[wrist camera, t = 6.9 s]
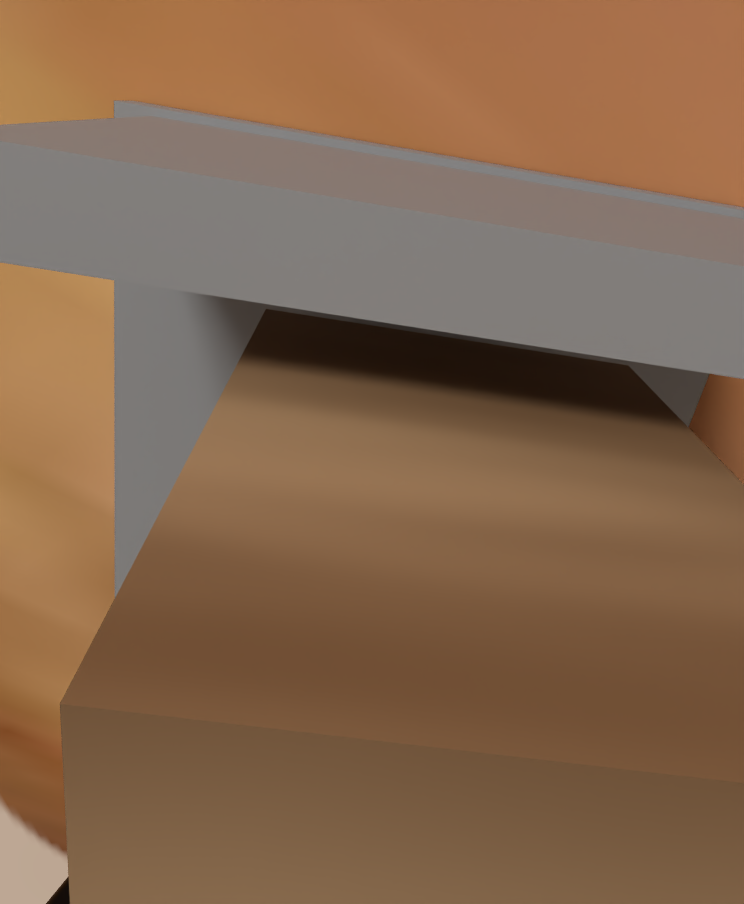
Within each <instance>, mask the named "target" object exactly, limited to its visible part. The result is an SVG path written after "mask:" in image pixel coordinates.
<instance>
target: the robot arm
mask: <svg viewBox="0 0 744 904" xmlns="http://www.w3.org/2000/svg"><path fill="white" fill-rule="evenodd" d="M46 904H70V895H69V876H68V878H67V879H66V880H65V881H64V882H63V884H62V885H61V886H60V887H59V889H58V890H57V891H56V892H55V894H54V895H53V896H52V897H51V898H50V899H49V901H48V902H47V903H46Z"/></svg>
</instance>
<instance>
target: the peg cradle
mask: <svg viewBox="0 0 744 904" xmlns="http://www.w3.org/2000/svg"><path fill="white" fill-rule="evenodd" d="M0 262H1V263H8V264H14V265H20V266H27V267H33V268H40V269H46V270H52V271H59V272H65V273H72V274H78V275H84V276H91V277H97V278H103V279H110V280H114V341H115V597H116V595H117V594H118V592H119V590H120V588H121V586H122V584H123V582H124V580H125V578H126V576H127V574H128V572H129V571H130V569H131V567H132V565H133V563H134V561H135V559H136V557H137V555H138V553H139V551H140V549H141V548H142V546H143V544H144V542H145V540H146V538H147V536H148V534H149V532H150V530H151V528H152V526H153V524H154V523H155V521H156V519H157V517H158V515H159V513H160V511H161V509H162V507H163V505H164V503H165V501H166V500H167V498H168V496H169V494H170V492H171V490H172V488H173V486H174V484H175V482H176V480H177V478H178V477H179V475H180V473H181V471H182V469H183V467H184V465H185V463H186V461H187V459H188V457H189V455H190V454H191V452H192V450H193V448H194V446H195V444H196V442H197V440H198V438H199V436H200V434H201V432H202V431H203V429H204V427H205V425H206V423H207V421H208V419H209V417H210V415H211V413H212V411H213V409H214V407H215V406H216V404H217V402H218V400H219V398H220V396H221V394H222V392H223V390H224V388H225V386H226V384H227V383H228V381H229V379H230V377H231V375H232V373H233V371H234V369H235V367H236V365H237V363H238V361H239V360H240V358H241V356H242V354H243V352H244V350H245V348H246V346H247V344H248V342H249V340H250V338H251V337H252V335H253V333H254V331H255V329H256V327H257V325H258V323H259V321H260V319H261V317H262V315H263V314H264V312H265V310H266V309H270V310H277V311H283V312H290V313H296V314H302V315H309V316H315V317H322V318H328V319H334V320H341V321H347V322H354V323H360V324H366V325H373V326H379V327H386V328H392V329H398V330H405V331H411V332H418V333H424V334H430V335H437V336H443V337H450V338H456V339H462V340H469V341H475V342H482V343H488V344H494V345H501V346H507V347H514V348H520V349H527V350H533V351H539V352H546V353H552V354H559V355H565V356H571V357H578V358H584V359H591V360H597V361H603V362H610V363H616V364H623V365H629V367H630V368H631V369H632V370H633V371H634V372H635V373H636V374H637V375H638V376H639V377H640V378H641V379H642V380H643V381H644V382H645V383H646V384H647V385H648V386H649V387H650V388H651V389H652V390H653V391H654V392H655V393H656V394H657V395H658V397H659V398H660V399H661V400H662V401H663V402H664V403H665V404H666V405H667V406H668V407H669V408H670V409H671V410H672V411H673V412H674V413H675V414H676V415H677V416H678V417H679V418H680V419H681V420H682V421H683V422H684V423H685V424H686V425H687V427H689V425H690V422H691V419H692V417H693V414H694V412H695V409H696V407H697V404H698V402H699V399H700V397H701V394H702V391H703V389H704V386H705V384H706V381H707V379H708V376H709V374H715V375H722V376H728V377H734V378H741V379H744V207H738V206H733V205H727V204H721V203H715V202H710V201H704V200H698V199H692V198H687V197H681V196H675V195H670V194H664V193H658V192H652V191H647V190H641V189H635V188H629V187H624V186H618V185H612V184H607V183H601V182H595V181H589V180H584V179H578V178H572V177H566V176H561V175H555V174H549V173H544V172H538V171H532V170H526V169H521V168H515V167H509V166H503V165H498V164H492V163H486V162H481V161H475V160H469V159H463V158H458V157H452V156H446V155H441V154H435V153H429V152H423V151H418V150H412V149H406V148H400V147H395V146H389V145H383V144H378V143H372V142H366V141H360V140H355V139H349V138H343V137H337V136H332V135H326V134H320V133H315V132H309V131H303V130H297V129H292V128H286V127H280V126H274V125H269V124H263V123H257V122H252V121H246V120H240V119H234V118H229V117H223V116H217V115H211V114H206V113H200V112H194V111H189V110H183V109H177V108H171V107H166V106H160V105H154V104H148V103H143V102H137V101H114V118H108V119H91V120H74V121H57V122H40V123H24V124H7V125H0Z"/></svg>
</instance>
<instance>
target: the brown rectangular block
mask: <svg viewBox="0 0 744 904" xmlns="http://www.w3.org/2000/svg"><path fill="white" fill-rule="evenodd" d="M60 714H61V735H62V755H63V775H64V795H65V815H66V835H67V855H68V875H69V895H70V904H744V484H743V483H742V482H741V481H740V480H739V479H738V478H737V477H736V476H735V475H734V474H733V473H732V472H731V471H730V470H729V469H728V468H727V467H726V466H725V465H724V464H723V463H722V462H721V461H720V460H719V459H718V458H717V457H716V456H715V454H714V453H713V452H712V451H711V450H710V449H709V448H708V447H707V446H706V445H705V444H704V443H703V442H702V441H701V440H700V439H699V438H698V437H697V436H696V435H695V434H694V433H693V432H692V431H691V430H690V429H689V428H688V427H687V425H686V424H685V423H684V422H683V421H682V420H681V419H680V418H679V417H678V416H677V415H676V414H675V413H674V412H673V411H672V410H671V409H670V408H669V407H668V406H667V405H666V404H665V403H664V402H663V401H662V400H661V399H660V398H659V397H658V395H657V394H656V393H655V392H654V391H653V390H652V389H651V388H650V387H649V386H648V385H647V384H646V383H645V382H644V381H643V380H642V379H641V378H640V377H639V376H638V375H637V374H636V373H635V372H634V371H633V370H632V369H631V368H630V367H629V365H623V364H616V363H610V362H603V361H597V360H591V359H584V358H578V357H571V356H565V355H559V354H552V353H546V352H539V351H533V350H527V349H520V348H514V347H507V346H501V345H494V344H488V343H482V342H475V341H469V340H462V339H456V338H450V337H443V336H437V335H430V334H424V333H418V332H411V331H405V330H398V329H392V328H386V327H379V326H373V325H366V324H360V323H354V322H347V321H341V320H334V319H328V318H322V317H315V316H309V315H302V314H296V313H290V312H283V311H277V310H270V309H266V310H265V312H264V314H263V315H262V317H261V319H260V321H259V323H258V325H257V327H256V329H255V331H254V333H253V335H252V337H251V338H250V340H249V342H248V344H247V346H246V348H245V350H244V352H243V354H242V356H241V358H240V360H239V361H238V363H237V365H236V367H235V369H234V371H233V373H232V375H231V377H230V379H229V381H228V383H227V384H226V386H225V388H224V390H223V392H222V394H221V396H220V398H219V400H218V402H217V404H216V406H215V407H214V409H213V411H212V413H211V415H210V417H209V419H208V421H207V423H206V425H205V427H204V429H203V431H202V432H201V434H200V436H199V438H198V440H197V442H196V444H195V446H194V448H193V450H192V452H191V454H190V455H189V457H188V459H187V461H186V463H185V465H184V467H183V469H182V471H181V473H180V475H179V477H178V478H177V480H176V482H175V484H174V486H173V488H172V490H171V492H170V494H169V496H168V498H167V500H166V501H165V503H164V505H163V507H162V509H161V511H160V513H159V515H158V517H157V519H156V521H155V523H154V524H153V526H152V528H151V530H150V532H149V534H148V536H147V538H146V540H145V542H144V544H143V546H142V548H141V549H140V551H139V553H138V555H137V557H136V559H135V561H134V563H133V565H132V567H131V569H130V571H129V572H128V574H127V576H126V578H125V580H124V582H123V584H122V586H121V588H120V590H119V592H118V594H117V595H116V597H115V599H114V601H113V603H112V605H111V607H110V609H109V611H108V613H107V615H106V617H105V618H104V620H103V622H102V624H101V626H100V628H99V630H98V632H97V634H96V636H95V638H94V640H93V641H92V643H91V645H90V647H89V649H88V651H87V653H86V655H85V657H84V659H83V661H82V663H81V665H80V666H79V668H78V670H77V672H76V674H75V676H74V678H73V680H72V682H71V684H70V686H69V688H68V689H67V691H66V693H65V695H64V697H63V699H62V701H61V703H60Z"/></svg>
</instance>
